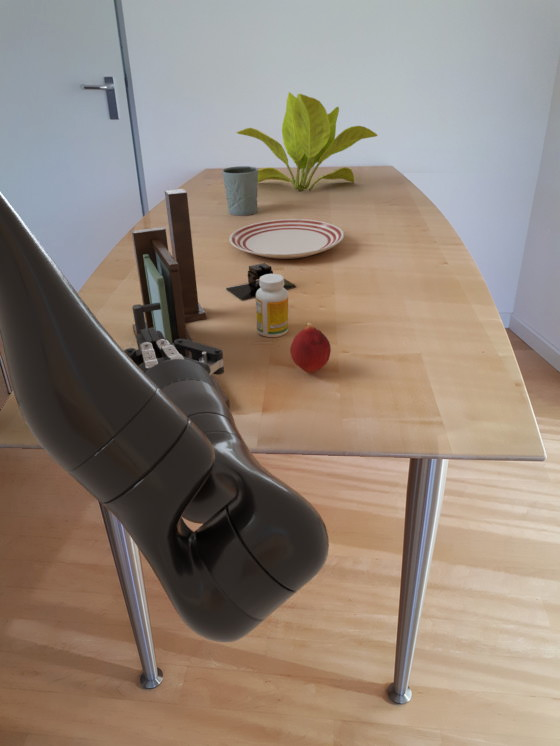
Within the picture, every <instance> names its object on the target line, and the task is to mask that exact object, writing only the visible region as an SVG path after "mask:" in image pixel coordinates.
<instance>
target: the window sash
mask: <svg viewBox="0 0 560 746" xmlns="http://www.w3.org/2000/svg"><path fill="white" fill-rule="evenodd" d="M143 259H144V266H145V272H146V279H147V285H148V292H149V299H150V304H147V305H143V304H134V305H133V306H132V307H131V308H132V313H133V319H134V324H135V326H136V332H137V335H138V334H141V330H142V329H146V323H145V322H146V320H145V314H144V312H148V311H151V312H152V318H153V325H154V329H155V331H160V332H162V334H163V336H164V338H165V340H167V341H168V342H169V343H172V337H171V330H170V322H169V315H168V308H167V300H166V293H165V285H164V278H163V277H162V276H161V275H160V274H159V272H158V271H157V269H156V267H155V266H154V264H153V263H152V261H151V260H150V257H149V255H148V254H144V255H143Z"/></svg>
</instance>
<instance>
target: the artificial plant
mask: <svg viewBox="0 0 560 746" xmlns="http://www.w3.org/2000/svg"><path fill="white" fill-rule="evenodd" d="M339 107H340V106H336V107H335V108H334V109H333V110H332V111H330V112H329V113H328V112H327V110H326V107H325V106H324V105H323V104H322V102H321V101H320V100H318V99H317V98H314V97H311V96H308V95H305V94H302V93H297V95H296V96H295V95H294V94H292V93H291V92H289V91H288V93H287V97H286V103H285V112H284V117H283V120H282V124H281V135H282V144H281V143H280V142H279V141H278V140H275V139H274V138H273V137H271V136H269V135H268V134H265V133H264V132H262V131H260V130H258V129H256V128H253V127H247V128H246V127H245V128H244V129H242V130H238V131H236V134H238V135H241V136H242V135H243V136H247V137H251V138H255V139H257V140H259V141H260V142H263V144H265V146H266V147H267V148H268V149H269V150H270V151H271V152H272V154H273V155H274V156H275V157H276V158H277V159H278V160H280V161H282V162H283V163H284V165H285V166H286V168H287V170H288V172H289V174H290V176H291V178H289V177H288V176H287V175H286V174H284V173H283V172H282V171H280V170H278V169H276V168H274V167H263V168H260V169H258V183H261V182H264V181H266V180H267V181H268V180H269V181H270V180H275V181H283V182H287V183H292V185H293V189H294V190H295V191H298V192H302V191H304V190H308V191H312V190H313V188H314V187H315V185H316V184H317V183H319V182H320V181H321V180H323V179H324V180H344V181H347V182H350V183H355V175H354V172H353V170H352V169H351V168H350V167H347V166H345V167H341V168H337V169H335V170H334V171H331V172H330V173H326V174H324V175H321V176H320V177H318V178H317V180H315V181H314V182H313V183H312V185H311V186H310V184H311V181H312V178H313V176H314V174H315V173H316V171H317V169H318V168H319V167H320V165H322V163H323V162H324V161H326V160H327V159H329V158H330V157H331V156H332V155H334V154H337V153H340V152H343V151H345V150H347V149H348V148H350V147H352V146H353V145H355V144H356V143H358V142H359V141H362V139H363V140H364V139H369V138H374V137H375V138H376V137H378V133H376V132H374V131H373V130H371V129H370V128H367V127H366V126H362V125H353V126H350V127H347V128H344V129H343V130H342V131H341V132H340V133H339V134H338V135H337V136H336V134H337V133H336V131H337V121H338V117H339V112H340V108H339ZM282 145H283V146H284V148H283V146H282ZM285 150H286V151H285ZM287 155H288V156H289V157H290V158H291V160H292V162H293V163H294V164H295V165H296V176H294V174H293V172H292V169H291V167H290V165H289V158H288V156H287ZM312 168H314V169H313V170H312V172H311V173H310V171H311V169H312ZM300 170H301V173H300ZM300 174H301V176H300ZM309 174H310V175H309ZM308 175H309V176H308Z"/></svg>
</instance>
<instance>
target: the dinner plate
mask: <svg viewBox="0 0 560 746" xmlns="http://www.w3.org/2000/svg"><path fill="white" fill-rule="evenodd" d="M344 238H345V232H344V231H343V229H342V228H340V227H339V226H337V225H335V224H332V223H328V222H327V221H322V220H314V219H305V218H284V219H282V218H281V219H271V220H265V221H260V222H259V221H258V222H255V223H251V224H248V225H245V226H242V227H239V228H238V229H236V230H234V231H233V232H232V233H231V234H230V235H229V243H230V244H231V246H233V247H234V248H236V249H238V250H240V251H241V252H242V251H243V252H245V253H248V254H251V255H256V256H259V257H261V258H267V259H277V260H292V259H301V258H307V257H310V256H314V255H316V254H319V253H322V252H325V251H328V250H330V249H332V248H334V247H336V246H337V245H338V244H339V243H341V242H342V241H343V239H344Z"/></svg>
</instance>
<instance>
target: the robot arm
mask: <svg viewBox="0 0 560 746" xmlns="http://www.w3.org/2000/svg"><path fill="white" fill-rule="evenodd" d="M0 339H1V343H2V349H3V354H4V357H5V362H6V367H7V372H8V376H9V379H10V382H11V387H12V391H13V394H14V397H15V400H16V403H17V406H18V409H19V411H20V413H21V416H22V417H23V420H24V422H25V424H26V426H27V427H28V430H29V431H30V433H31V434H32V436H33V437H34V439H35V440H36V441H37V443H38V444H39V445H40V446H41V448H42V449H43V450H44V451H45V452H46V453H47V454H48V455H49V457H50V458H52V459H53V461H54V462H56V464H58V465H59V466H60V467H61V468H62V469H63V470H64V471H65V472H67V473H68V475H70V476H71V477H72V479H74V480H75V481H76V482H77V483H78V484H80V485H81V487H82V488H84V489H85V490H86V492H88V493H89V494H90V495H91V496H93V497H94V498H95V500H97V501H98V502H99V503H101V504H102V506H103V507H105V508H106V509H107V510H108V511H109V512H110V513H111V514H112V515H113V516H114V517H115V518H116V519H117V520H118V522H119V523H120V524H121V525H122V527H123V528H124V530H125V531H126V533H127V534H128V535H129V536H130V538H131V540H132V541H133V542H134V544H135V545H136V547H137V548H138V550H139V551H140V553H141V554H142V555H143V557H144V559H145V560H146V562H147V563H148V565H149V566H150V568H151V569H152V572H153V573H154V575H155V576H156V578H157V580H158V582H159V583H160V585H161V587H162V588H163V591H164V592H165V594H166V596H167V598H168V600H169V601H170V603H171V605H172V607H173V609H174V610H175V612H176V613H177V615H178V617H179V618H180V619H181V620H182V622H183V623H184V624H185V625H186V626H187V627H188V628H189V629H190V630H191V631H192V632H194V633H195V634H196V635H198V636H200V637H202V638H204V639H206V640H209V641H212V642H216V643H217V642H218V643H233V642H236V641H239V640H241V639H242V638H244V637H246V636H248V635H249V634H250V633H251V632H252V631H253V630H255V629H256V628H257V627H259V626H260V624H262V623H263V622H264V621H265V620H266V619H267V618H268V617H270V616H271V615H272V614H273V613H274V612H275V611H277V610H278V609H279V608H280V607H282V606H283V605H284V604H285V603H286V602H287V601H288V600H289V599H291V598H292V597H293V596H294V595H295V594H297V593H298V592H299V591H300V590H301V589H303V587H304V586H306V585H307V584H308V583H310V582H311V581H312V580H313V579H314V578H315V577H316V576H317V575H318V574H319V573H320V572H321V570H322V569H323V568H324V566H325V564H326V562H327V560H328V556H329V550H330V549H329V547H330V544H329V543H330V542H329V541H330V540H329V534H328V530H327V529H328V528H327V526H326V523H325V522H324V519H323V518H322V516H321V514H320V513H319V511H318V510H317V509H316V508H315V507H314V506H313V504H312V503H310V501H309V500H308V499H306V498H305V496H303V495H302V494H301V493H300V492H298V491H297V490H296V489H294V488H292V487H291V486H290V485H289V484H287V483H286V482H284V481H283V480H282V479H280V478H279V477H277V476H275V474H272V472H270V471H269V469H267V468H266V467H264V466H263V464H262V463H260V461H259V460H258V459H257V458H256V456H255V454H253V453H252V451H251V449H250V448H249V446H248V445H247V442H246V441H245V439H244V438H243V436H242V434H241V432H240V430H239V429H238V427H237V426H236V425H237V424H236V422H235V419H234V416H233V413H232V411H231V410H230V409H231V408H230V409H229V408H228V406H227V404H226V403H225V401H224V399H223V397H222V396H221V394H220V392H219V391H218V389H217V387H216V386H215V384H214V382H213V380H212V379H211V376H210V375H211V374H212V373H213V375H222V374H224V373H225V364H224V352H223V349H221V348H219V347H215V346H212V345H211V346H210V345H207V344H203V343H200V342H196V341H194V340H193V341H189V340H185V339H177V340H175V341H174V343H169V342H168V341H167V340H165V338H164V336H163V334H162V332H160V331H155V329H154V327H153V328H148V329H142V330H141V334H138V335H137V336H136V337H135V339H136V345H137V349H136V348H134V347H128V348H126V349H123V348H122V347H121V346H120V345H119V343H117V341H115V338H113V336H111V334H110V333H109V332H108V330H107V329H106V328H105V326H103V324H102V323H101V322H100V321H99V319H98V318H97V317H96V315H94V313H93V312H92V311H91V309H90V308H89V307H88V305H87V304H86V303H85V302H84V300H83V298H82V297H81V296H80V295H79V293H78V292H77V291H76V288H74V287H73V285H72V284H71V283H70V281H69V280H68V278H67V277H66V275H65V274H64V273H63V272H62V270H61V269H60V267H59V266H58V265H57V264H56V262H55V261H54V260H53V258H52V257H51V255H50V254H49V253H48V251H47V250H46V249H45V247H44V246H43V245H42V243H41V242H40V240H39V239H38V238H37V237H36V235H35V234H34V233H33V232H32V230H31V229H30V228H29V227H28V225H27V224H26V223H25V220H23V218H22V217H21V216H20V215H19V213H18V212H17V210H16V209H15V208H14V207H13V205H12V204H11V203H10V202H9V200H8V199H7V197H6V196H4V194H3V193H2V191H1V190H0ZM187 350H188V351H190V352H191V354H192V357H191V356H188V355H187ZM184 520H186V521H188V522H191V523H193V524H201V525H200V526H199V527H198V528H197V529H195V530H193V529H192V528H190V527H189V526H188V524H186V522H185V521H184Z"/></svg>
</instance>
